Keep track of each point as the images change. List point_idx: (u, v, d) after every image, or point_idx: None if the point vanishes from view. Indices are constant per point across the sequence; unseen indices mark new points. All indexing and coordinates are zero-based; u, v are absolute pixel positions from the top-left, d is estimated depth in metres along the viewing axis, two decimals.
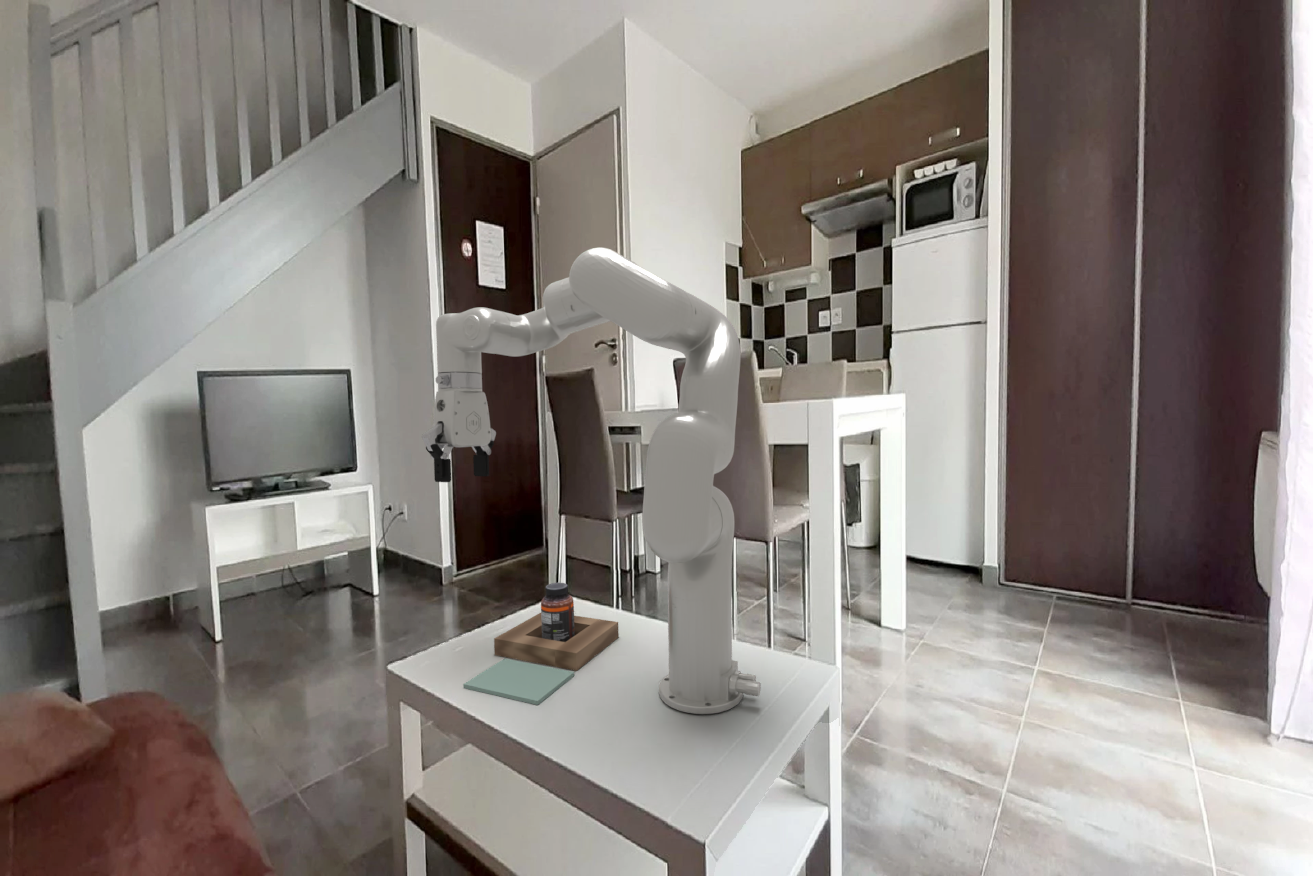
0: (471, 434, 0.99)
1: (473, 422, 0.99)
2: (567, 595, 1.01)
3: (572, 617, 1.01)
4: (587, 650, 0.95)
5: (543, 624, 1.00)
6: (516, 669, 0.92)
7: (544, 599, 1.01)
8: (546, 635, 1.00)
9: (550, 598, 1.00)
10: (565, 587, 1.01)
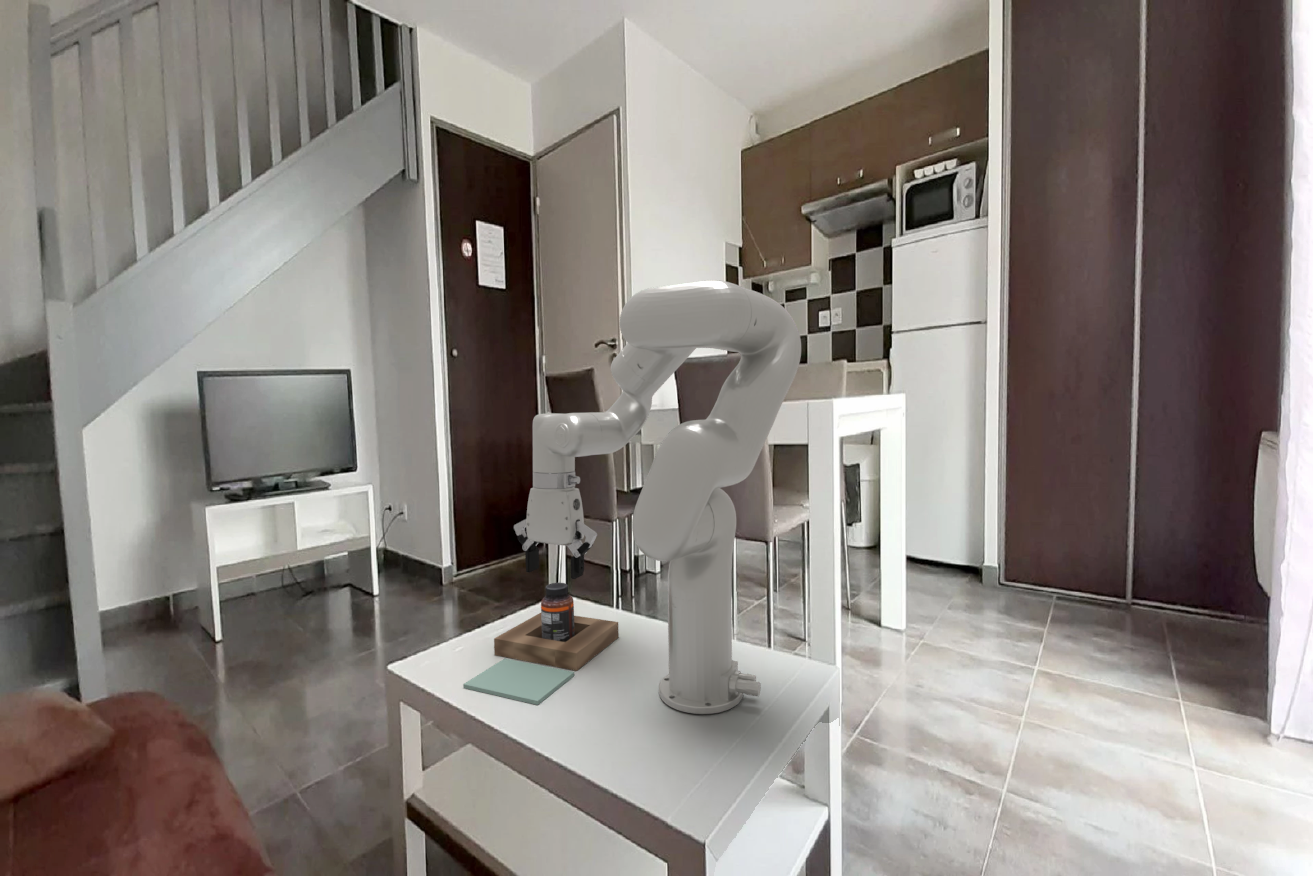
0: None
1: None
2: (567, 595, 1.01)
3: (572, 617, 1.01)
4: (587, 650, 0.95)
5: (543, 624, 1.00)
6: (516, 669, 0.92)
7: (544, 599, 1.01)
8: (546, 635, 1.00)
9: (550, 598, 1.00)
10: (565, 587, 1.01)
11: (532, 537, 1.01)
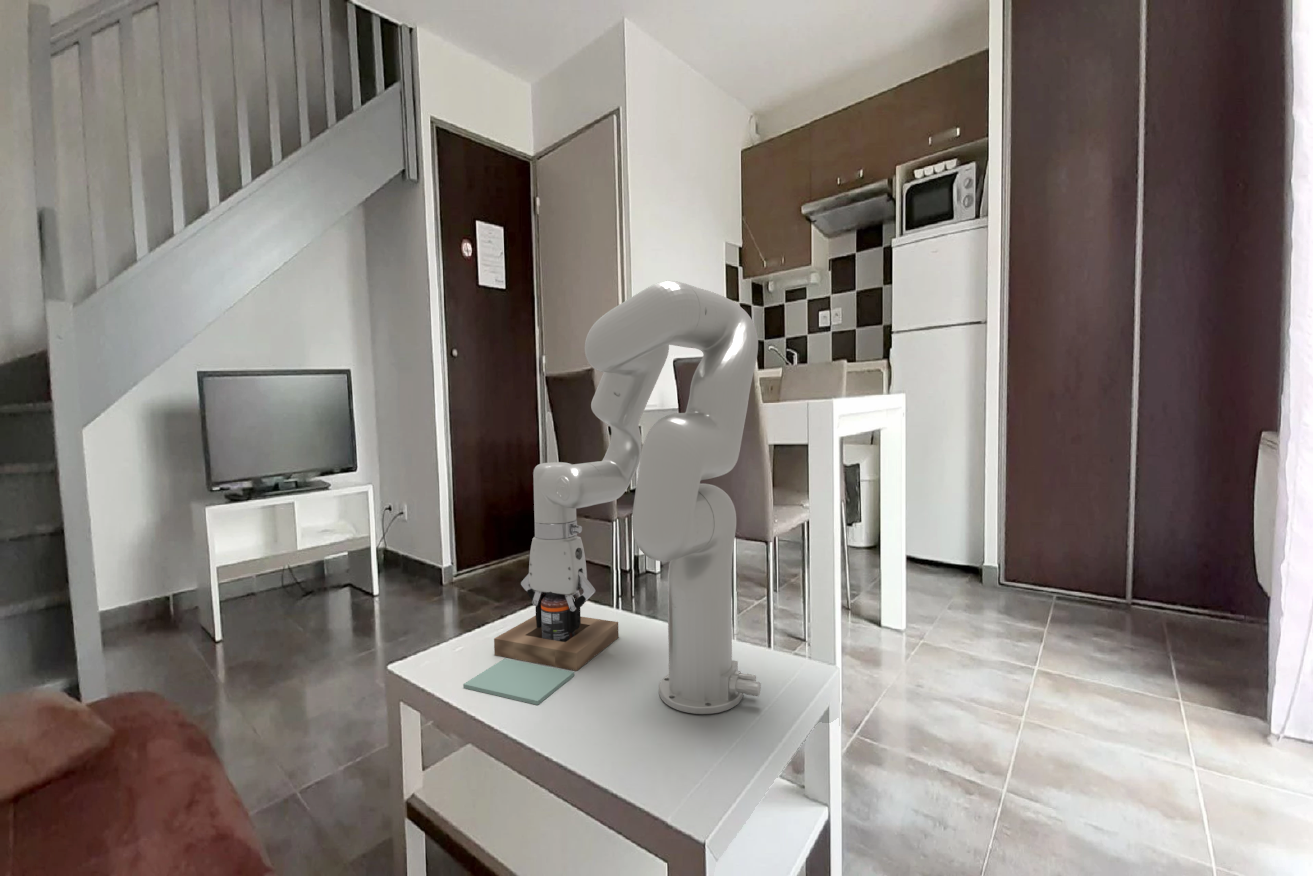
0: None
1: None
2: None
3: None
4: (587, 650, 0.95)
5: (543, 624, 1.00)
6: (516, 669, 0.92)
7: (544, 599, 1.01)
8: (546, 634, 1.00)
9: (550, 598, 1.00)
10: None
11: (535, 587, 1.01)
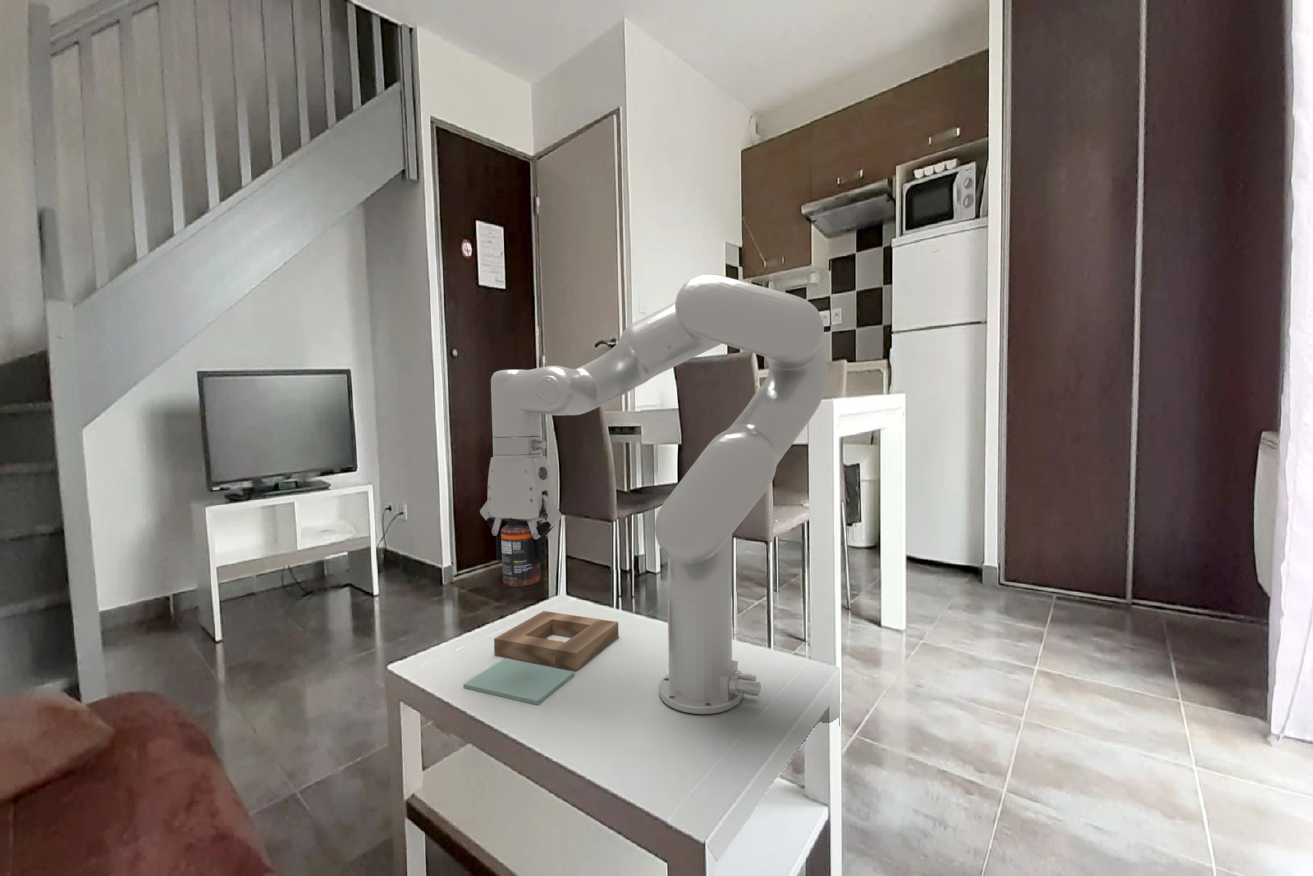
0: None
1: None
2: None
3: None
4: (587, 650, 0.95)
5: (503, 555, 0.87)
6: (516, 669, 0.92)
7: (504, 526, 0.88)
8: (506, 566, 0.87)
9: (510, 524, 0.87)
10: None
11: (494, 513, 0.88)
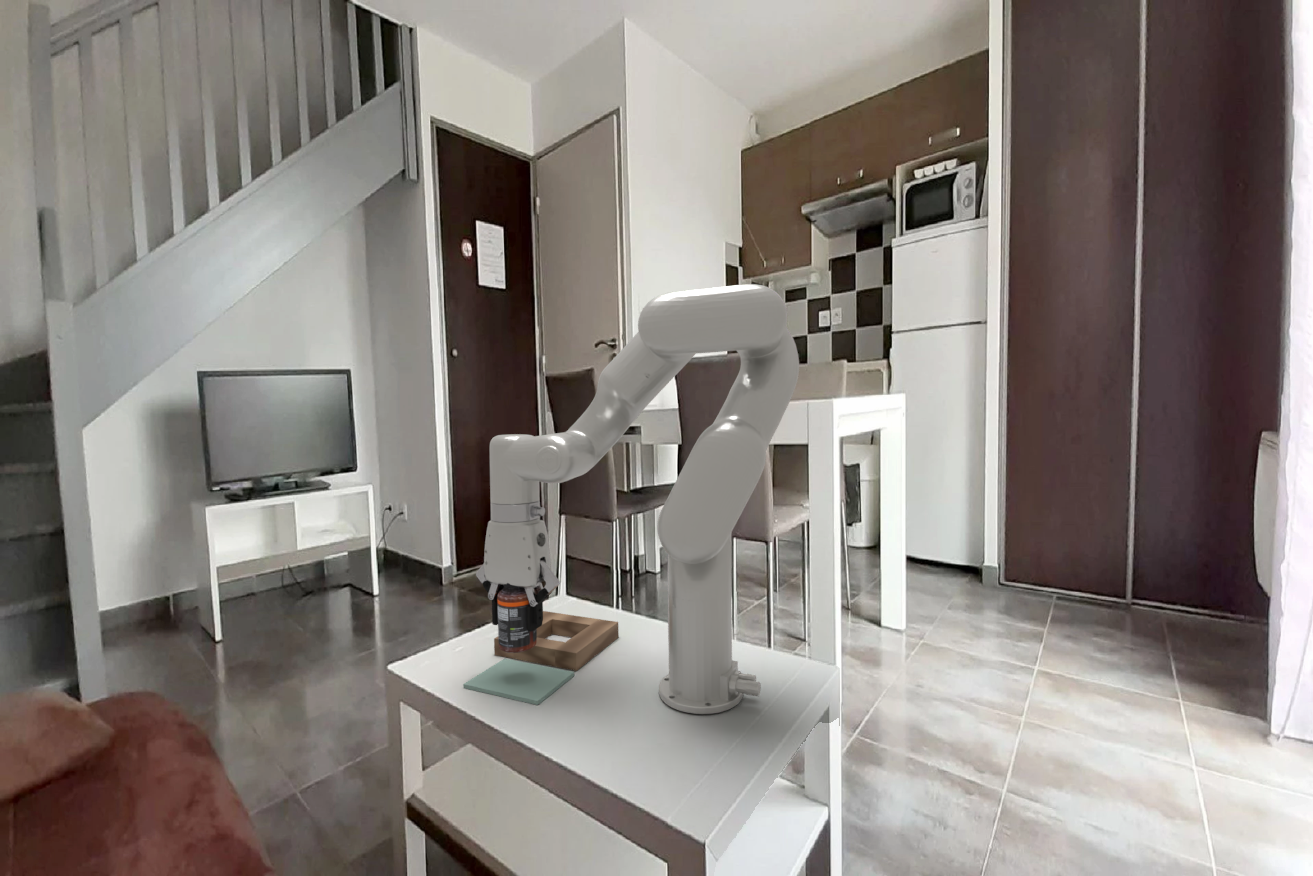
0: None
1: None
2: None
3: None
4: (587, 650, 0.95)
5: (499, 621, 0.86)
6: (516, 669, 0.92)
7: (501, 592, 0.87)
8: (503, 633, 0.86)
9: (507, 590, 0.86)
10: None
11: (491, 578, 0.87)
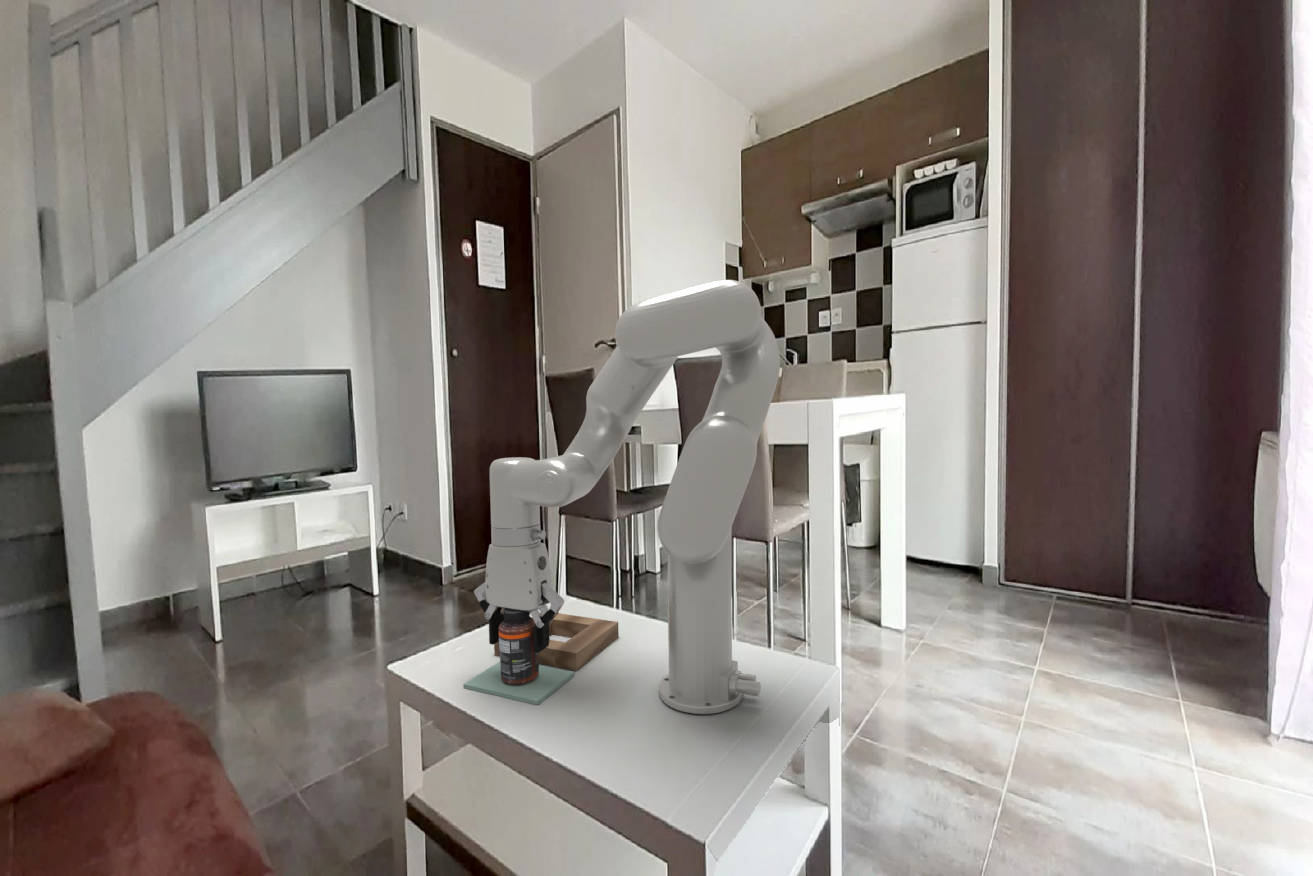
0: None
1: None
2: (529, 619, 0.88)
3: None
4: (587, 650, 0.95)
5: (501, 653, 0.87)
6: None
7: (502, 624, 0.87)
8: (505, 665, 0.86)
9: (508, 623, 0.86)
10: None
11: (492, 601, 0.88)
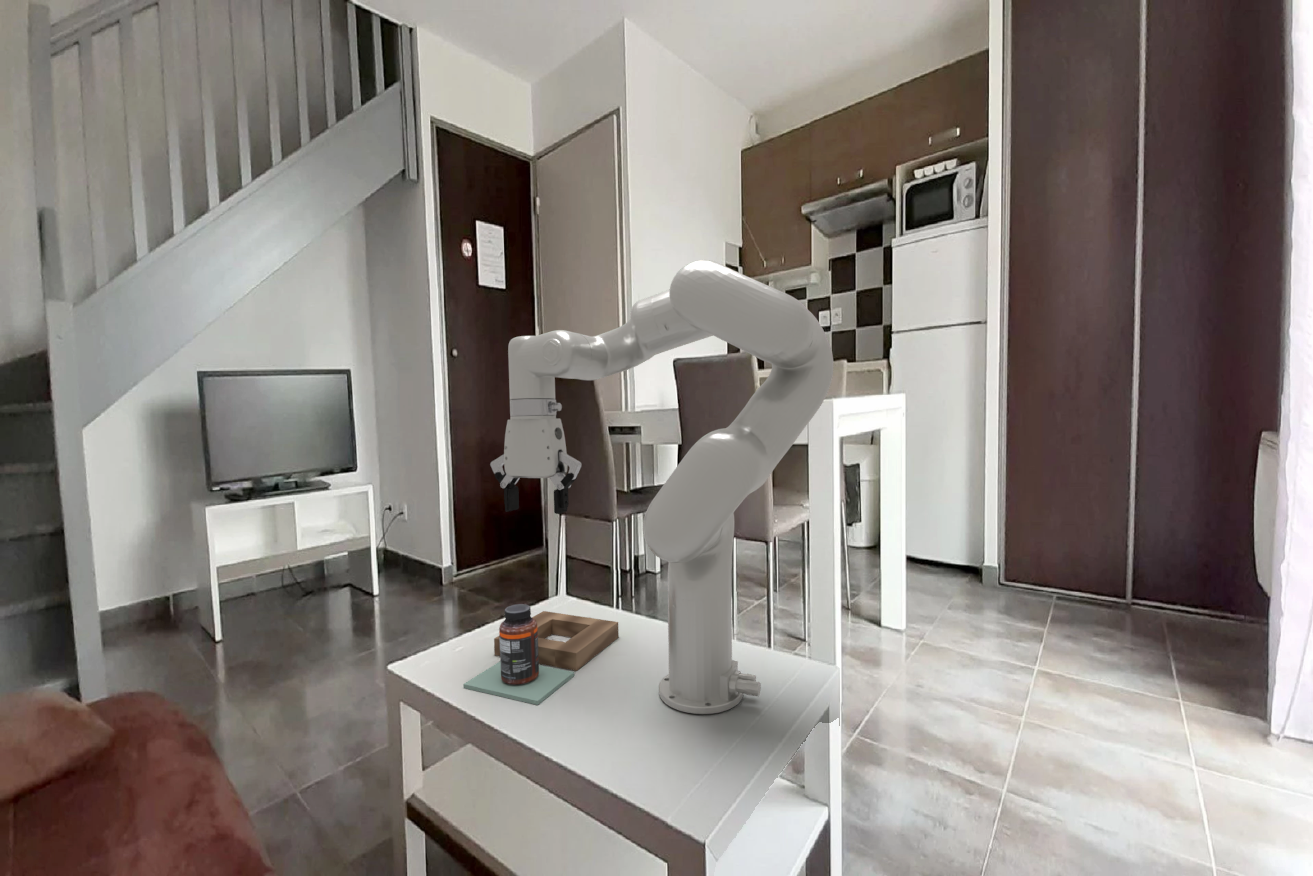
0: None
1: None
2: (530, 619, 0.88)
3: (535, 644, 0.88)
4: (587, 650, 0.95)
5: (501, 653, 0.87)
6: None
7: (503, 624, 0.87)
8: (505, 665, 0.86)
9: (509, 623, 0.86)
10: (527, 610, 0.87)
11: (511, 472, 0.93)
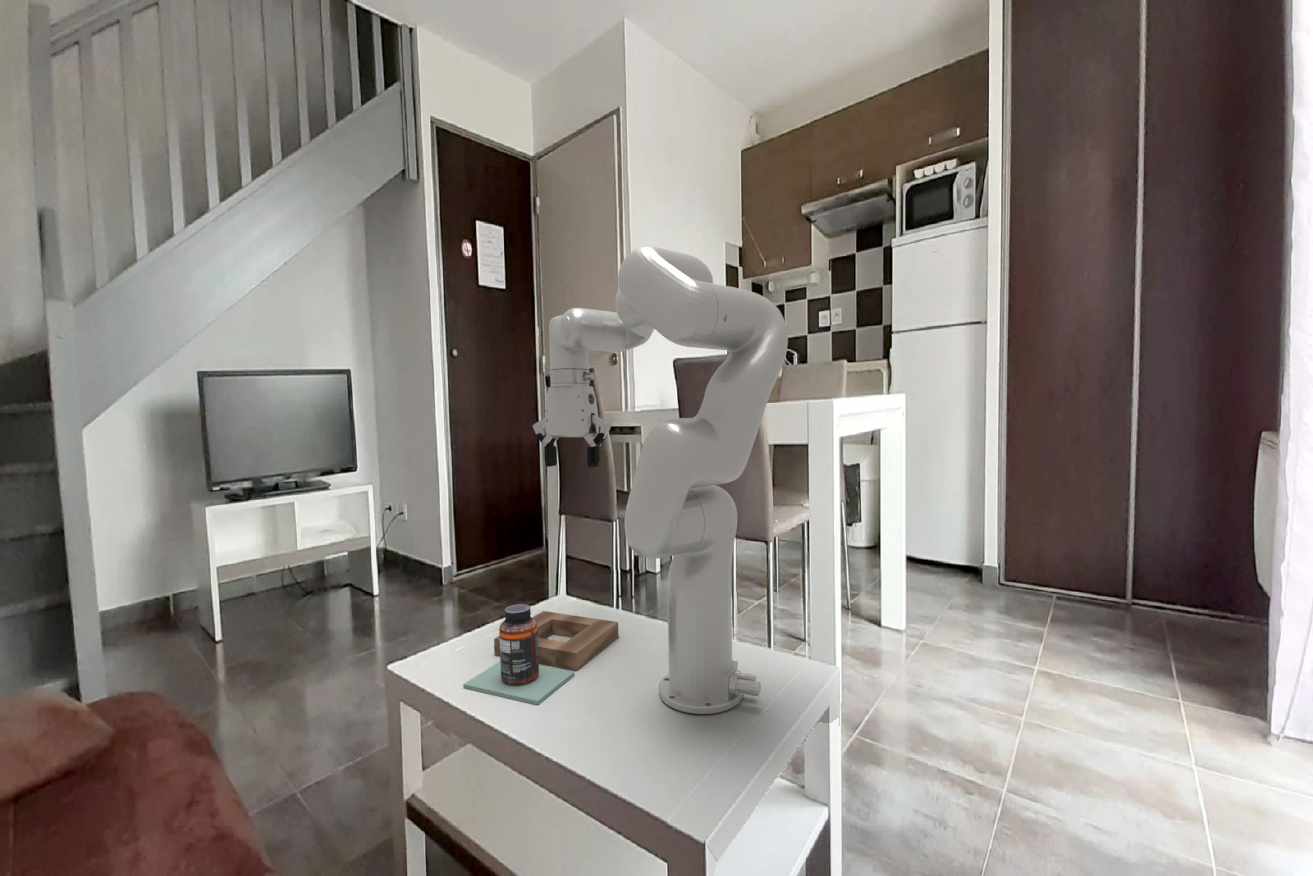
0: None
1: None
2: (529, 619, 0.88)
3: (535, 644, 0.88)
4: (587, 650, 0.95)
5: (501, 653, 0.87)
6: None
7: (503, 624, 0.87)
8: (505, 665, 0.86)
9: (509, 623, 0.86)
10: (527, 610, 0.87)
11: (550, 432, 1.09)
